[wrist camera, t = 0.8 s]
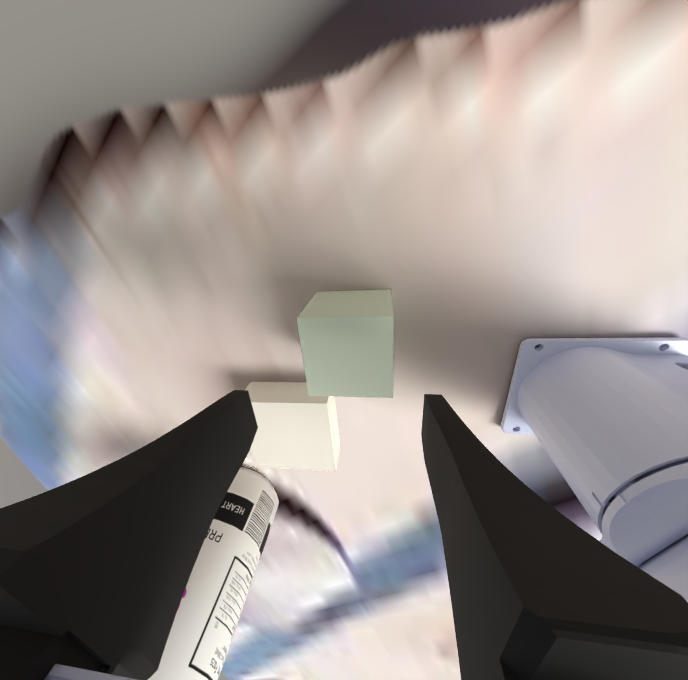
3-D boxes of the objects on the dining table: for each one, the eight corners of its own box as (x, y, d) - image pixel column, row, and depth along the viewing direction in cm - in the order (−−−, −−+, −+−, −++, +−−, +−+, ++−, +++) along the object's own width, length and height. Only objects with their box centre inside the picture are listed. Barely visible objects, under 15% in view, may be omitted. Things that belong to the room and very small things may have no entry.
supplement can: (253, 520, 32) (159, 748, 18) (194, 482, 30) (43, 704, 16) (296, 494, 29) (220, 747, 15) (233, 450, 27) (85, 693, 13)
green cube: (390, 288, 18) (393, 316, 13) (390, 355, 20) (392, 397, 16) (317, 291, 18) (296, 317, 14) (324, 355, 21) (308, 395, 16)
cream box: (333, 379, 22) (326, 403, 19) (340, 443, 25) (335, 471, 22) (252, 379, 23) (235, 402, 20) (268, 440, 26) (255, 467, 23)
